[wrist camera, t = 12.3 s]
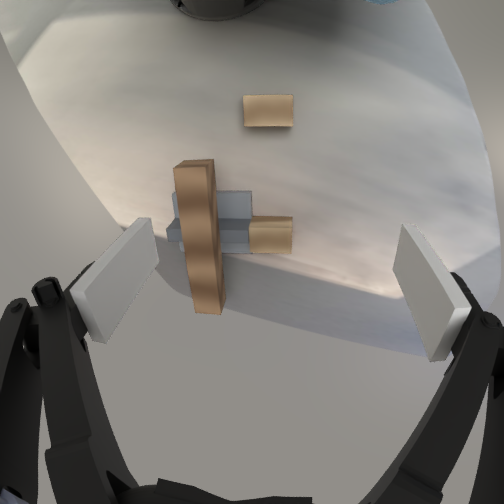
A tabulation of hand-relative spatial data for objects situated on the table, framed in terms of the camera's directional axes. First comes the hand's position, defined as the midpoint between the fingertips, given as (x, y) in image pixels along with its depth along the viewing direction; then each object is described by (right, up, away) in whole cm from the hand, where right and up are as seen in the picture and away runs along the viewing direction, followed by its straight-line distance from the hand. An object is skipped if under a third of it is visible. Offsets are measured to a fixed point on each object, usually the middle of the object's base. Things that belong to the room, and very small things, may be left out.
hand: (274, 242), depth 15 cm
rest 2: (+2, +3, +31) cm, 32 cm away
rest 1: (+1, +19, +22) cm, 29 cm away
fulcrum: (-7, +4, +32) cm, 33 cm away
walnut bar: (-8, +2, +28) cm, 29 cm away
